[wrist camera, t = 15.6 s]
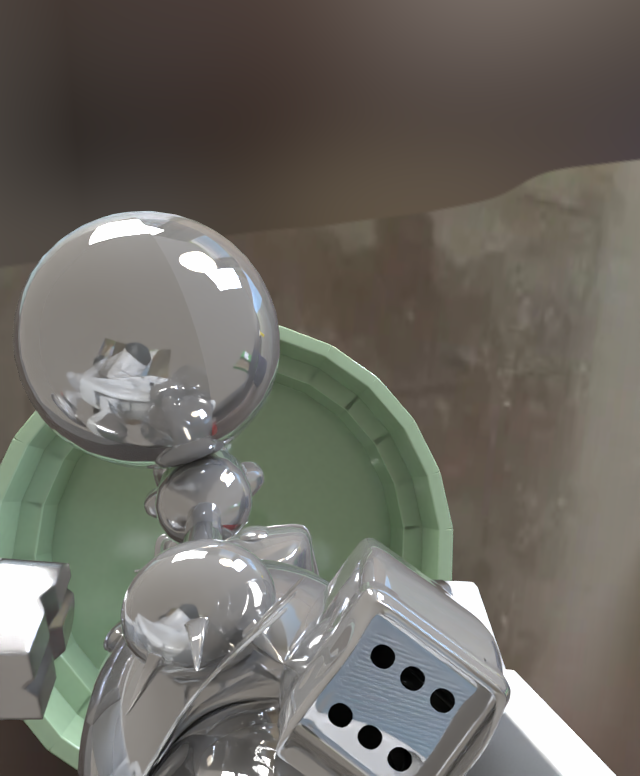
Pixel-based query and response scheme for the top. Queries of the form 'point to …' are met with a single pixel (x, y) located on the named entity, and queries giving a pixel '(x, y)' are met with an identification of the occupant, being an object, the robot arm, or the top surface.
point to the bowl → (270, 507)
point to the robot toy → (233, 538)
